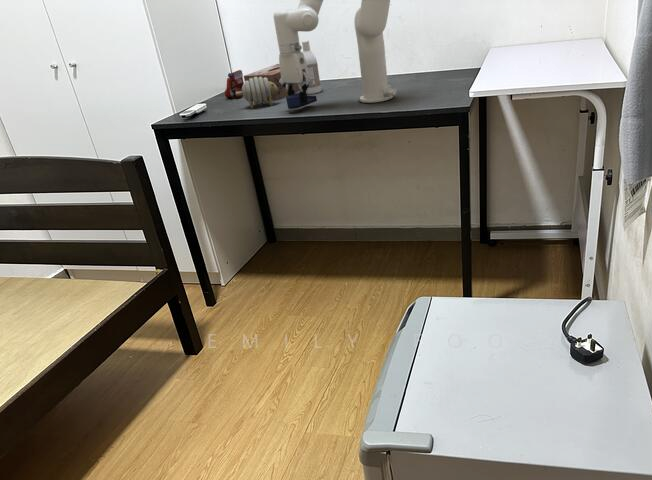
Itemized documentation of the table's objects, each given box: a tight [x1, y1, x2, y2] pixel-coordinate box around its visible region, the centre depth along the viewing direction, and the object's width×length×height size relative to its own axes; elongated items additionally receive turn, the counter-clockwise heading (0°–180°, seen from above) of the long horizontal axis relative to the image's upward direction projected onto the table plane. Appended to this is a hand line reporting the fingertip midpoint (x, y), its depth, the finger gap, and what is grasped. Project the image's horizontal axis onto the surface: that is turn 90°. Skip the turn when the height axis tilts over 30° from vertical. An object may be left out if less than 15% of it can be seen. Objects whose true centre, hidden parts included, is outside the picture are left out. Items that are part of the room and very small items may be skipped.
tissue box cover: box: [243, 63, 303, 101], centre depth 240 cm, size 26×14×10 cm, turn 155°
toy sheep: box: [235, 77, 278, 109], centre depth 221 cm, size 11×17×11 cm, turn 106°
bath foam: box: [301, 40, 322, 95], centre depth 230 cm, size 7×7×20 cm
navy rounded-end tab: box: [285, 92, 318, 110], centre depth 206 cm, size 12×5×4 cm, turn 145°
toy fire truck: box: [224, 69, 245, 99], centre depth 244 cm, size 7×12×10 cm, turn 158°
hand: (298, 101), depth 206 cm, fingers closed on navy rounded-end tab, 5 cm apart
